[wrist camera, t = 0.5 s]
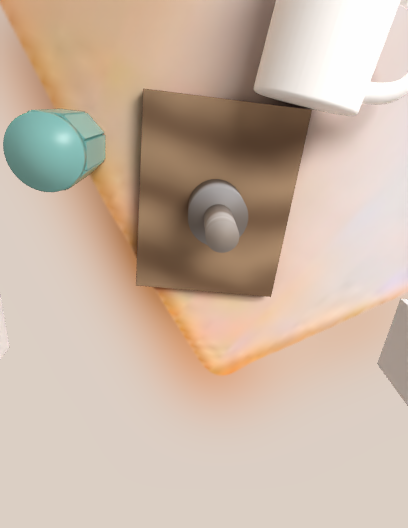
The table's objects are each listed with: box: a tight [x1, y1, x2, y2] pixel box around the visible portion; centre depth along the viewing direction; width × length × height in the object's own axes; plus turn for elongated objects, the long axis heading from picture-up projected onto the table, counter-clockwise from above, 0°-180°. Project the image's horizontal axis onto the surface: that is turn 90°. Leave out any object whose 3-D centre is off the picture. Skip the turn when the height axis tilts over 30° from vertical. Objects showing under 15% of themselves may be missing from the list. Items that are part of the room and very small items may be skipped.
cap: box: [3, 109, 105, 192], centre depth 28 cm, size 5×5×7 cm
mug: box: [254, 0, 408, 116], centre depth 25 cm, size 12×10×8 cm
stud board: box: [136, 89, 312, 297], centre depth 29 cm, size 18×14×10 cm
